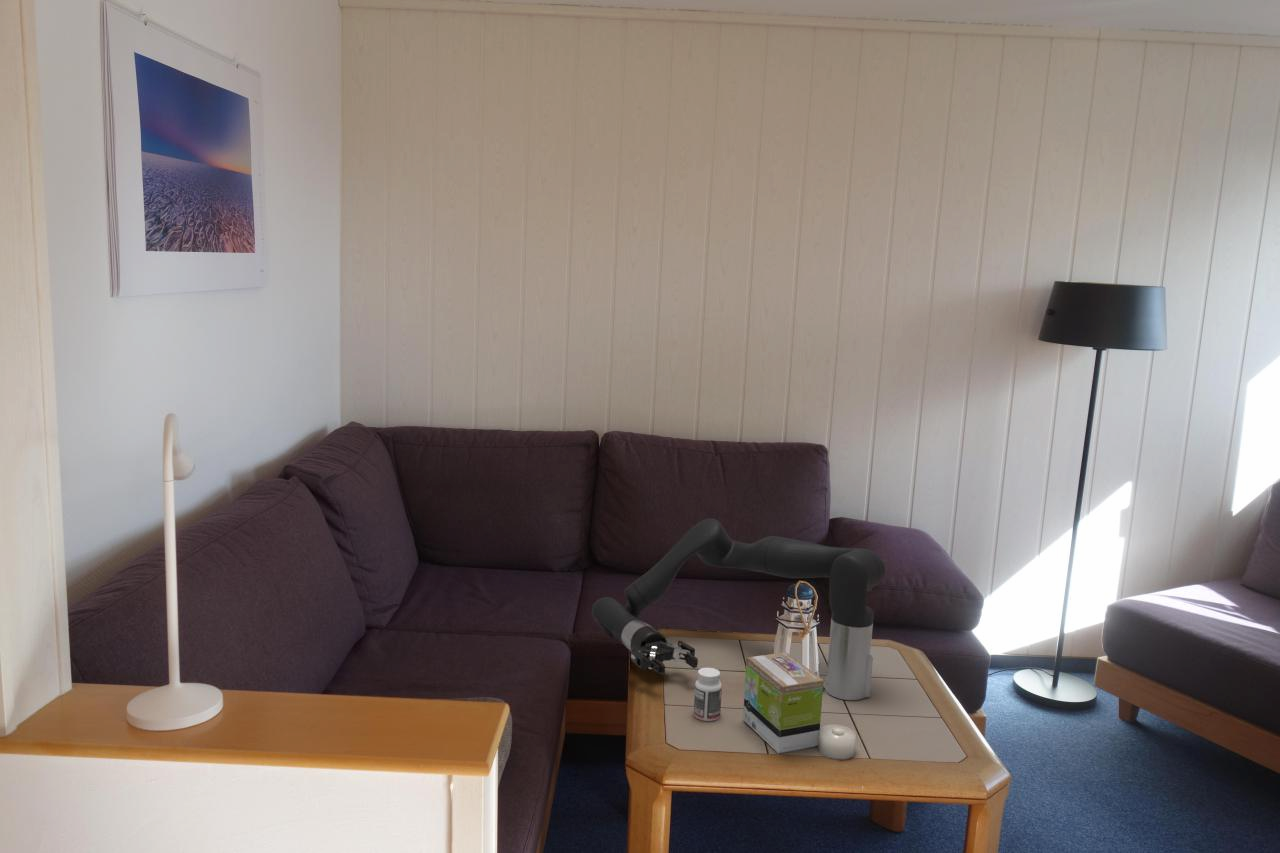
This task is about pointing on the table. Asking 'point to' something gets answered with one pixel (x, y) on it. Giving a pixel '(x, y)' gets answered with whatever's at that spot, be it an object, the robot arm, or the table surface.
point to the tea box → (783, 701)
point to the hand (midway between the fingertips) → (679, 667)
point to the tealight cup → (837, 741)
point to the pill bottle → (708, 695)
